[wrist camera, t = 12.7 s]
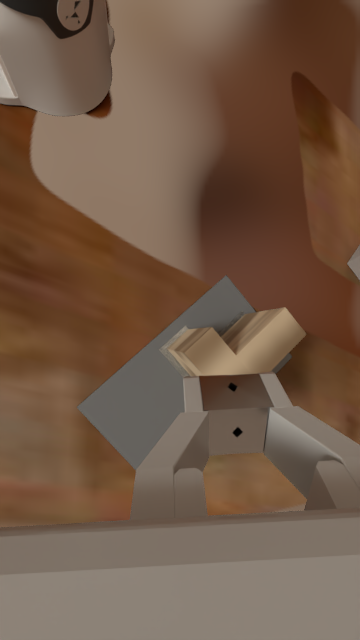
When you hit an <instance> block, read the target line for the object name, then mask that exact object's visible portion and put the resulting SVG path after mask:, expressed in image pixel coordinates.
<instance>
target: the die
mask: <svg viewBox="0 0 360 640" xmlns="http://www.w3.org/2000/svg"><path fill="white" fill-rule="evenodd" d="M347 264H348V265H349V267H350V268H351V269H352V271H353V272H354V273H355V275H356V276H357V277H358V279H359V280H360V245H359V247H358V248H357V250H356V251H355V253H354V254H353V256H352V257H351V259H350V260H349V262H348V263H347Z"/></svg>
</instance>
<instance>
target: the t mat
mask: <svg viewBox="0 0 360 640" xmlns="http://www.w3.org/2000/svg"><path fill="white" fill-rule="evenodd" d="M255 312H256V311H255V310H254V309H253V308H252V306H251V305H250V304H249V303H248V301H247V300H246V299H245V298H244V296H243V295H242V294H241V293H240V291H239V290H238V289H237V288H236V286H235V285H234V284H233V283H232V282H231V280H230V279H229V278H228V277H227V275H226V276H225V277H224V278H222V279H221V280H220V281H219V282H218V283H217V284H216V285H215V286H213V287H212V288H211V289H210V290H209V291H208V292H207V293H205V294H204V295H203V296H202V297H201V298H200V299H199V300H198V301H196V302H195V303H194V304H193V305H192V306H191V307H190V308H189V309H187V310H186V311H185V312H184V313H183V314H182V315H181V316H179V317H178V318H177V319H176V320H175V321H174V322H173V323H172V324H170V325H169V326H168V327H167V328H166V329H165V330H164V331H162V332H161V333H160V334H159V335H158V336H157V337H156V338H155V339H153V340H152V341H151V342H150V343H149V344H148V345H147V346H145V347H144V348H143V349H142V350H141V351H140V352H139V353H138V354H136V355H135V356H134V357H133V358H132V359H131V360H130V361H128V362H127V363H126V364H125V365H124V366H123V367H122V368H121V369H119V370H118V371H117V372H116V373H115V374H114V375H113V376H111V377H110V378H109V379H108V380H107V381H106V382H105V383H104V384H102V385H101V386H100V387H99V388H98V389H97V390H96V391H94V392H93V393H92V394H91V395H90V396H89V397H88V398H87V399H85V400H84V401H83V402H82V403H81V404H80V405H79V406H77V408H78V409H79V410H80V411H81V412H82V413H83V415H84V416H85V417H86V418H87V419H88V420H89V421H90V422H91V423H92V424H93V425H94V426H95V427H96V428H97V429H98V430H99V432H100V433H101V434H102V435H103V436H104V437H105V438H106V439H107V440H108V441H109V442H110V443H111V444H112V445H113V446H114V447H115V449H116V450H117V451H118V452H119V453H120V454H121V455H122V456H123V457H124V458H125V459H126V460H127V461H128V462H129V463H130V465H131V466H132V467H133V468H134V469H135V470H136V469H137V468H138V467H139V465H140V464H141V463H142V462H143V460H144V459H145V458H146V456H147V455H148V454H149V453H150V451H151V450H152V449H153V447H154V446H155V445H156V444H157V442H158V441H159V440H160V438H161V437H162V436H163V435H164V433H165V432H166V431H167V429H168V428H169V427H170V425H171V424H172V423H173V422H174V420H175V419H176V418H177V416H178V415H179V414H180V413H182V412H185V407H184V387H183V377H186V376H190V375H189V374H188V372H187V371H186V370H185V369H184V368H183V367H182V366H181V364H180V363H179V362H178V361H177V360H176V359H175V357H174V356H173V355H172V354H171V353H170V352H169V351H168V349H167V348H168V347H169V346H170V345H171V344H172V343H173V342H175V341H176V340H177V339H178V338H179V337H180V336H181V335H182V334H183V333H184V332H186V331H187V330H188V329H197V328H207V327H213V329H214V330H215V331H216V332H217V333H218V335H219V336H220V337H221V336H222V335H223V334H224V333H225V332H227V331H228V330H229V329H230V328H231V327H232V326H233V325H234V324H235V323H236V322H237V321H238V320H239V319H240V318H241V317H242V316H243V315H245V314H249V313H255ZM291 358H292V356H291V355H290V353H288V354H287V355H286V356H285V357H284V358H283V359H282V360H281V361H280V362H279V363H278V364H277V365H276V366H275V367H274V368H273V369H272V371H271V372H274V373H275V374H276V373H277V372H278V371H279V370H280V369H281V368H282V367H283V366H284V365H285V364H286V363H287V362H288V361H289V360H290V359H291Z"/></svg>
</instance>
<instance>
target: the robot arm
mask: <svg viewBox="0 0 360 640" xmlns="http://www.w3.org/2000/svg"><path fill="white" fill-rule="evenodd" d="M114 41H115V39H114V31H113V28H112V27H111V26H110V25H109V24H108V21H107V11H106V2H105V0H0V103H1V104H6V105H23V106H27V107H29V108H32V109H34V110H37V111H39V112H42V113H45V114H49V115H54V116H75V115H80V114H83V113H86V112H88V111H90V110H92V109H93V108H95V107H96V106H98V105H99V104H100V103H101V102H102V101H103V99H104V98H105V97H106V95H107V93H108V91H109V89H110V86H111V81H112V67H111V60H110V55H111V52H112V49H113V46H114ZM183 387H184V407H185V412H182V413H180V414H179V415H178V416H177V418H176V419H175V420H174V422H173V423H172V424H171V425H170V427H169V428H168V429H167V431H166V432H165V433H164V435H163V436H162V437H161V438H160V440H159V441H158V442H157V444H156V445H155V446H154V447H153V449H152V450H151V451H150V453H149V454H148V455H147V456H146V458H145V459H144V460H143V462H142V463H141V464H140V465H139V467H138V468H137V469H136V476H135V484H134V492H133V499H132V507H131V515H130V520H125V521H107V522H89V523H71V524H53V525H35V526H17V527H0V640H360V445H359V444H357V443H356V442H354V441H353V440H351V439H349V438H348V437H346V436H345V435H343V434H341V433H340V432H338V431H337V430H335V429H333V428H332V427H330V426H329V425H327V424H326V423H324V422H322V421H321V420H319V419H318V418H316V417H314V416H313V415H311V414H310V413H308V412H306V411H305V410H303V409H302V408H300V407H298V406H293V405H292V403H291V401H290V400H289V398H288V396H287V394H286V392H285V390H284V389H283V387H282V385H281V383H280V381H279V380H278V378H277V376H276V374H275V373H274V372H262V373H255V374H238V375H210V376H199V377H198V376H186V377H183ZM234 453H264V455H265V456H266V457H267V458H268V459H269V460H270V461H271V462H272V463H273V464H274V465H275V466H276V467H277V468H278V469H279V470H280V471H281V472H282V474H283V475H284V476H285V477H286V478H287V479H288V480H289V481H290V482H291V483H292V484H293V485H294V486H295V487H296V488H297V489H298V490H299V491H300V492H301V493H302V494H303V495H304V497H305V498H306V499H307V502H306V506H305V509H304V511H289V512H270V513H252V514H234V515H215V516H208V515H207V507H206V498H205V490H204V481H203V470H204V467H205V465H206V463H207V461H208V459H209V456H210V455H222V454H234Z"/></svg>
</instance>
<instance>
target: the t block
mask: <svg viewBox="0 0 360 640" xmlns="http://www.w3.org/2000/svg"><path fill="white" fill-rule="evenodd" d="M305 335H306V333H305V331H304V330H303V329H302V328H301V326H300V325H299V324H298V323H297V321H296V320H295V319H294V318H293V316H292V315H291V314H290V313H289V311H288V310H287V309H286V308H285V307H284V308H278V309H272V310H266V311H260V312H255V313H249V314H245V315H243V316H242V317H241V318H240V319H239V320H238V321H237V322H236V323H235V324H234V325H233V326H232V327H231V328H230V329H229V330H228V331H227V332H225V333H224V334H223V335H222V336H221V337H220V336H219V335H218V333H217V332H216V331H215V330H214V329H213V327H207V328H197V329H188V330H187V331H186V332H184V333H183V334H182V335H181V336H180V337H179V338H178V339H177V340H176V341H175V342H173V343H172V344H171V345H170V346H169V347H168V348H167V349H168V351H169V352H170V353H171V354H172V355H173V356H174V357H175V359H176V360H177V361H178V362H179V363H180V364H181V366H182V367H183V368H184V369H185V370H186V371H187V372H188V374H189V375H190V376H198V377H199V376H210V375H238V374H255V373H262V372H271V371H272V369H273V368H274V367H275V366H276V365H277V364H278V363H279V362H280V361H281V360H282V359H283V358H284V357H285V356H286V355H287V354H288V353H289V352H290V351H291V350H292V349H293V348H294V347H295V346H296V345H297V344H298V343H299V342H300V340H301V339H302V338H303V337H304V336H305Z"/></svg>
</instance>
